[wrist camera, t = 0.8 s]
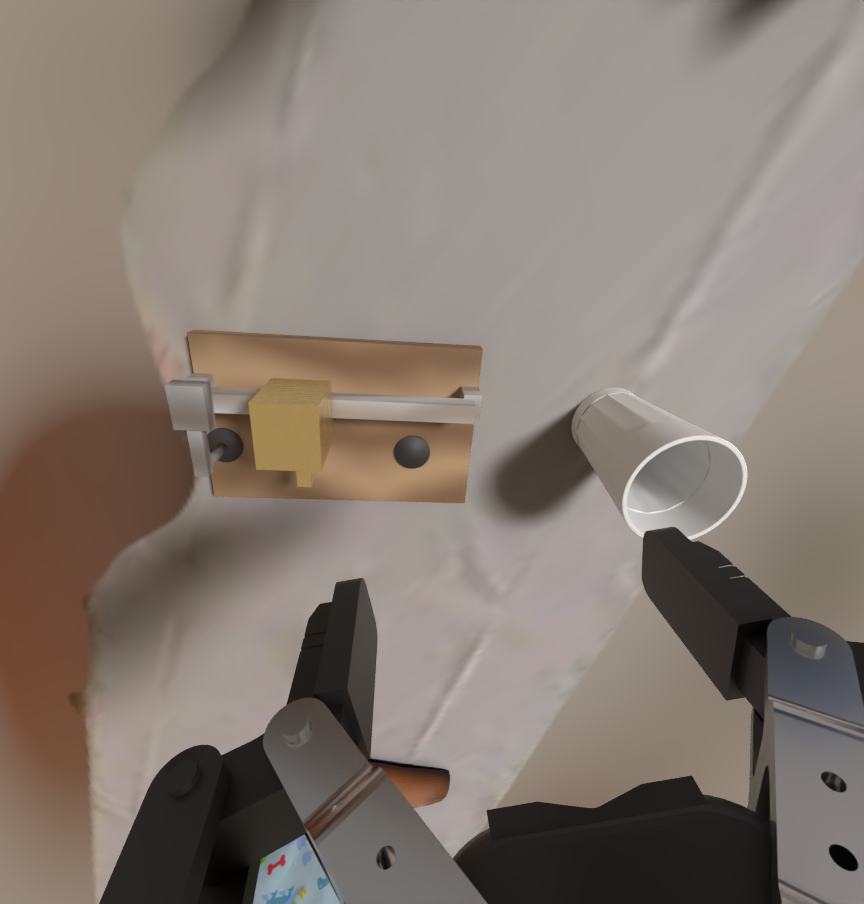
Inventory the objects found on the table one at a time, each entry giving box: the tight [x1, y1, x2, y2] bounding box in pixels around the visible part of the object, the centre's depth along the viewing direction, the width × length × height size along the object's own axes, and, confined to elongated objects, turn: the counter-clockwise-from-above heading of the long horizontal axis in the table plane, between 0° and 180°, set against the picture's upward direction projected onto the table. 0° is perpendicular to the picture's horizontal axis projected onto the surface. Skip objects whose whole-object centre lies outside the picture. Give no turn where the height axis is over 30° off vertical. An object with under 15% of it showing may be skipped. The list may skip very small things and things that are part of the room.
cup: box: [571, 388, 747, 540], centre depth 34 cm, size 8×8×12 cm
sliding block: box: [248, 378, 333, 487], centre depth 31 cm, size 8×4×9 cm, turn 176°
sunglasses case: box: [368, 761, 450, 808], centre depth 59 cm, size 18×7×7 cm, turn 70°
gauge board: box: [165, 330, 483, 503], centre depth 35 cm, size 14×22×6 cm, turn 86°
